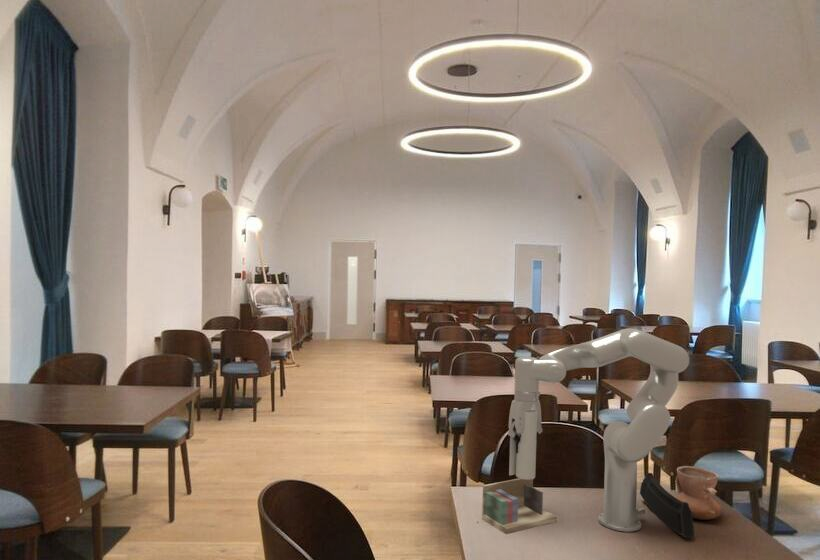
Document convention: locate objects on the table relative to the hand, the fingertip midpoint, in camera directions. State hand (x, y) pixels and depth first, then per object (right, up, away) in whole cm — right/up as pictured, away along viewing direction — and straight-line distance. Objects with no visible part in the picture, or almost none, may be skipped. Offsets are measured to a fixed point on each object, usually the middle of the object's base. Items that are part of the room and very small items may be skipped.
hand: (524, 453), depth 177 cm
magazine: (+45, -22, +3) cm, 51 cm away
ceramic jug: (+58, -23, +8) cm, 62 cm away
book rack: (-2, -21, 0) cm, 21 cm away
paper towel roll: (0, -7, 0) cm, 7 cm away
